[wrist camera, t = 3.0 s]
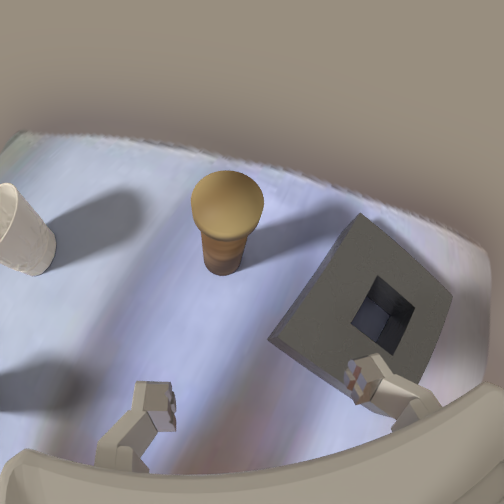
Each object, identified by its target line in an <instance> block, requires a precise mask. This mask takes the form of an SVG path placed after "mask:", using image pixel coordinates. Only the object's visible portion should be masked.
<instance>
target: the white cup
mask: <svg viewBox="0 0 504 504" xmlns="http://www.w3.org/2000/svg"><path fill="white" fill-rule="evenodd" d="M55 250H56V240H55V235H54V233H53V232H52V231H51V230H50V229H49V228H48V227H47V226H46V224H45V223H44V221H43V220H42V219H41V217H40V216H39V215H38V213H37V212H36V211H35V210H34V209H33V208H32V207H31V206H30V204H29V203H28V202H27V201H26V200H25V198H24V197H23V196H22V195H21V193H20V192H19V191H18V190H17V188H16V187H15V186H14V185H13V184H11V183H3V184H0V264H2V265H4V266H6V267H9V268H11V269H13V270H16V271H20V272H22V273H24V274H27V275H30V276H32V277H33V276H37V275H40V274H42V273H43V272H44V271H45V270H46V269H47V268H48V267H49V266H50V264H51V262H52V260H53V258H54V256H55Z"/></svg>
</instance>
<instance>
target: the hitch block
mask: <svg viewBox="0 0 504 504" xmlns="http://www.w3.org/2000/svg"><path fill="white" fill-rule="evenodd" d="M366 296H367V297H369V298H370V299H371V300H372V301H374V302H375V303H376V304H377V305H378V306H380V307H381V308H382V309H383V310H385V311H386V312H387V313H388V314H389V315H390V317H389V319H388V321H387V323H386V325H385V327H384V329H383V331H382V333H381V335H380V336H379V338H378V340H377V342H376V343H375V342H374V341H372V340H371V339H370V338H369V337H367V336H366V335H365V334H363V333H362V332H361V331H359V330H358V329H357V328H356V327H354V326H353V325H352V324H351V322H352V320H353V319H354V317H355V315H356V313H357V312H358V310H359V308H360V306H361V305H362V303H363V301H364V299H365V297H366ZM452 297H453V296H452V295H451V294H450V293H449V292H448V291H447V290H446V289H445V288H444V287H443V286H442V285H441V284H440V283H439V282H438V281H437V280H436V279H435V278H434V277H433V276H432V275H431V274H430V273H429V272H428V271H427V270H426V269H425V268H424V267H423V266H422V265H421V264H419V263H418V262H417V261H416V260H415V259H414V258H413V257H412V256H411V255H410V254H409V253H407V252H406V251H405V250H404V249H403V248H402V247H401V246H400V245H398V244H397V243H396V242H395V241H394V240H393V239H392V238H390V237H389V236H388V235H387V234H386V233H385V232H383V231H382V230H381V229H380V228H379V227H377V226H376V225H375V224H374V223H372V222H371V221H370V220H369V219H368V218H366V217H365V216H364V215H363V214H361V213H359V214H358V215H357V216H356V218H355V219H354V220H353V221H352V222H351V223H350V224H349V225H348V226H347V227H346V228H345V229H344V230H343V231H342V232H341V234H340V236H339V237H338V239H337V240H336V242H335V243H334V245H333V246H332V248H331V249H330V251H329V252H328V254H327V255H326V257H325V258H324V260H323V261H322V263H321V264H320V266H319V267H318V269H317V270H316V272H315V273H314V275H313V276H312V278H311V279H310V281H309V282H308V283H307V285H306V286H305V288H304V289H303V291H302V292H301V293H300V295H299V296H298V298H297V299H296V300H295V302H294V303H293V305H292V306H291V307H290V309H289V310H288V312H287V313H286V314H285V316H284V317H283V318H282V320H281V321H280V322H279V324H278V325H277V327H276V328H275V329H274V331H273V332H272V333H271V335H270V336H269V337H268V339H267V340H268V341H269V342H271V343H272V344H273V345H275V346H276V347H277V348H279V349H280V350H282V351H283V352H284V353H286V354H287V355H288V356H290V357H291V358H293V359H294V360H295V361H297V362H298V363H300V364H301V365H303V366H304V367H305V368H307V369H308V370H310V371H311V372H313V373H314V374H315V375H317V376H318V377H320V378H321V379H323V380H324V381H326V382H327V383H329V384H330V385H332V386H333V387H335V388H336V389H338V390H339V391H341V392H342V393H344V394H345V395H347V396H348V397H350V398H351V399H352V397H351V396H350V395H351V391H350V390H348V389H347V388H346V386H345V383H344V373H345V371H346V370H347V369H348V368H349V367H348V362H349V361H350V360H351V359H355V358H358V357H362V356H366V355H371V354H374V353H378V354H380V356H381V357H382V359H383V360H384V361H385V363H386V364H387V366H388V367H389V369H390V370H391V372H392V373H393V374H397V375H399V376H401V377H403V378H405V379H407V380H409V381H411V382H413V383H415V384H417V385H418V383H419V381H420V379H421V377H422V375H423V373H424V371H425V369H426V367H427V364H428V362H429V360H430V358H431V355H432V353H433V351H434V348H435V346H436V343H437V341H438V338H439V336H440V333H441V330H442V328H443V325H444V322H445V319H446V316H447V313H448V310H449V307H450V304H451V301H452ZM361 405H362V406H364V407H366V408H367V409H369V410H370V411H372V412H374V413H376V414H380V415H384V416H387V417H391V416H390V415H388V414H387V413H385V412H384V411H383V410H381V409H380V408H378V407H377V406H375V405H374V404H373V403H371V402H370V401H369V402H365V403H362V404H361ZM391 418H393V417H391Z"/></svg>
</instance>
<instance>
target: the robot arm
mask: <svg viewBox="0 0 504 504" xmlns="http://www.w3.org/2000/svg"><path fill="white" fill-rule="evenodd" d="M348 367H349V368H348V369H347V370H346V371H345V373H344V383H345V386H346V388H347V389H348V390H350V391H351V395H350V396H351V397H352V399H353V401H354V403H355V405H358V404H362V403H365V402H369V401H370V402H371V403H373V404H374V405H375V406H377V407H378V408H380V409H381V410H383V411H384V412H385V413H387V414H388V415H390V416H391V417H393V418H394V419H396V422H395V423H394V424H393V426H392V427H391V430H392V433H390V434H388V435H385V436H383V437H380V438H378V439H375V440H373V441H370V442H367V443H364V444H362V445H359V446H356V447H353V448H350V449H347V450H344V451H341V452H337V453H334V454H330V455H327V456H323V457H320V458H316V459H312V460H308V461H303V462H299V463H294V464H289V465H284V466H279V467H273V468H267V469H261V470H253V471H245V472H236V473H224V474H206V475H168V474H150V473H149V468H148V467H147V466H146V465H145V464H144V462H143V461H142V460H141V459H140V458H141V456H142V455H143V453H144V452H145V451H146V449H147V448H148V446H149V445H150V443H151V442H152V441H153V439H154V438H155V436H156V435H157V433H158V432H176V418H175V415H174V413H175V412H176V399H175V395H174V392H173V391H172V385H171V382H155V381H136V383H135V388H134V394H133V401H132V408H131V411H130V410H128V411H127V412H126V413H125V414H124V415H123V416H122V417H121V418H120V419H119V420H118V421H117V422H116V424H115V425H114V426H113V427H112V428H111V429H110V430H109V431H108V432H107V433H106V434H105V435H104V436H103V437H102V438H101V439H100V440H99V441H98V444H97V450H96V456H95V463H94V466H91V465H86V464H82V463H77V462H73V461H69V460H65V459H62V458H58V457H55V456H51V455H48V454H45V453H42V452H39V451H36V450H33V449H24V450H22V451H21V452H19V453H18V454H16V455H15V456H14V457H12V458H11V459H10V460H9V461H7V462H6V464H5V465H4V467H3V470H2V472H1V475H0V504H504V389H503V388H501V387H499V386H497V385H494V384H492V383H489V382H482V383H481V384H479V385H478V386H476V387H475V388H473V389H472V390H470V391H469V392H467V393H466V394H464V395H463V396H461V397H459V398H458V399H456V400H454V401H453V402H451V403H449V404H448V405H446V406H444V407H442V406H441V404H440V403H439V402H438V400H437V399H436V397H435V396H434V395H433V393H432V392H431V391H430V390H428V389H426V388H424V387H421V386H419V385H417V384H415V383H413V382H411V381H409V380H407V379H405V378H403V377H401V376H399V375H397V374H393V373H392V372H391V370H390V369H389V367H388V366H387V364H386V363H385V361H384V360H383V359H382V357H381V356H380V354H378V353H374V354H371V355H366V356H362V357H358V358H355V359H351V360H350V361H349V362H348Z"/></svg>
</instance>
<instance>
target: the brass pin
mask: <svg viewBox="0 0 504 504" xmlns="http://www.w3.org/2000/svg"><path fill="white" fill-rule="evenodd" d="M191 207H192V214H193V219H194V222H195V224H196V226H197V227H198V229H199V230H200V231H201V237H202V247H203V256H204V263H205V265H206V267H207V269H208V270H209V271H210V272H212V273H213V274H216V275H219V276H226V275H229V274H232V273H233V272H235V271H236V270H237V268H238V267H239V265H240V262H241V258H242V255H243V251H244V248H245V244H246V241H247V237H248V235H249V234H251V233H252V232H253V231H254V229H255V228H256V227H257V225H258V223H259V220H260V217H261V214H262V211H263V207H264V197H263V194H262V191H261V189H260V187H259V186H258V185H257V183H256V182H255V181H254V180H252V179H251V178H250V177H248V176H247V175H244V174H242V173H239V172H235V171H218V172H214V173H211V174H209V175H207V176H205V177H204V178H203V179H201V180H200V181H199V182H198V183H197V185H196V186H195V188H194V190H193V192H192V196H191Z"/></svg>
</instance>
